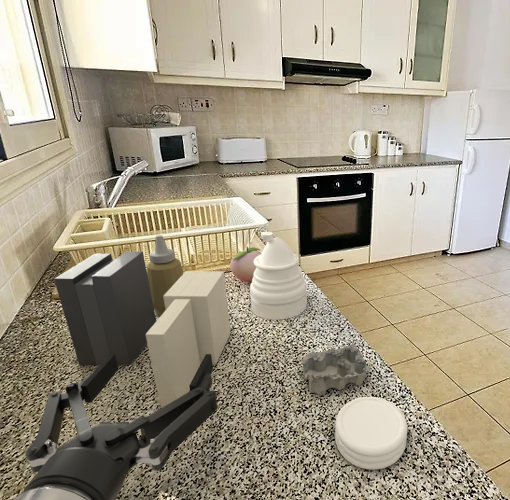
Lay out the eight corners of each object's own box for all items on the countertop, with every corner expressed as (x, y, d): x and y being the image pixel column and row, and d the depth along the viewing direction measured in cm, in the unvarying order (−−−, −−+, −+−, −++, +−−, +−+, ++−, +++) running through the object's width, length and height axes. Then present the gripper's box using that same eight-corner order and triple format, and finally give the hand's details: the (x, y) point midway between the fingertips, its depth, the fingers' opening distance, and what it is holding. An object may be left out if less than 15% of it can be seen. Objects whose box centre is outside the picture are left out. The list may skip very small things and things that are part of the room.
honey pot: (257, 324, 80) (251, 245, 73) (246, 297, 90) (240, 227, 84) (314, 313, 85) (313, 238, 78) (298, 288, 95) (296, 221, 89)
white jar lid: (364, 486, 46) (365, 466, 45) (321, 432, 54) (321, 413, 53) (420, 447, 52) (423, 428, 51) (375, 403, 59) (376, 385, 58)
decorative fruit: (253, 292, 93) (251, 255, 89) (226, 286, 96) (222, 250, 92) (274, 277, 101) (272, 243, 98) (248, 272, 104) (245, 238, 100)
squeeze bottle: (143, 316, 82) (127, 239, 75) (172, 299, 89) (160, 227, 82) (171, 324, 79) (157, 245, 72) (199, 307, 86) (188, 233, 79)
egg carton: (309, 399, 60) (309, 379, 58) (299, 369, 67) (299, 350, 65) (371, 384, 63) (372, 365, 62) (355, 358, 70) (356, 339, 68)
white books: (175, 364, 67) (162, 296, 62) (195, 333, 76) (185, 270, 71) (215, 365, 67) (206, 296, 62) (230, 333, 76) (224, 271, 71)
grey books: (78, 364, 66) (52, 275, 60) (113, 330, 77) (94, 250, 70) (130, 364, 67) (109, 276, 60) (158, 330, 77) (143, 251, 70)
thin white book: (161, 412, 57) (145, 334, 52) (186, 368, 66) (174, 299, 61) (178, 412, 57) (163, 334, 52) (200, 368, 66) (190, 299, 61)
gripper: (-64, 539, 35) (80, 382, 55) (203, 533, 36) (250, 382, 56) (-97, 483, 32) (67, 339, 52) (193, 479, 33) (246, 340, 53)
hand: (162, 361), depth 54 cm, fingers open, 13 cm apart
